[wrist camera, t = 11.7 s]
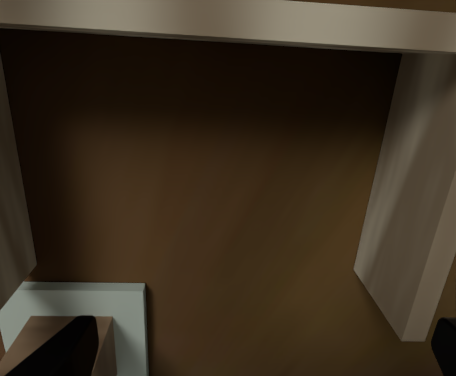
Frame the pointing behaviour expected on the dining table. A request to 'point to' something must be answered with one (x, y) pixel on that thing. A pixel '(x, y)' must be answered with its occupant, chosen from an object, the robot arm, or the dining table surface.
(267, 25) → the wooden u-shaped frame
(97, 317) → the block
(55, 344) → the robot arm
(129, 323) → the tile
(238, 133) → the dining table surface
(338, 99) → the dining table surface
